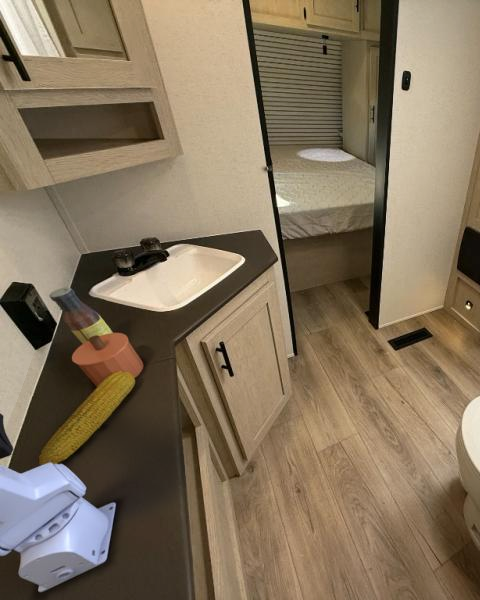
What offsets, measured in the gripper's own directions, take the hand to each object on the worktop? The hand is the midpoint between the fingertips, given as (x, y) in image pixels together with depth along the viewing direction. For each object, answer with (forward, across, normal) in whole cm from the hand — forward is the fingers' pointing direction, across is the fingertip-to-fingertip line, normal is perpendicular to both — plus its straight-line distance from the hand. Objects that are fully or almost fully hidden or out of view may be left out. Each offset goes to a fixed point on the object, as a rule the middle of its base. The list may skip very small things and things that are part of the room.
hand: (4, 454), depth 53 cm
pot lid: (+1, +24, -9) cm, 26 cm away
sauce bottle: (+10, +35, -6) cm, 37 cm away
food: (+10, +10, -7) cm, 16 cm away
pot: (+9, +24, -9) cm, 28 cm away
